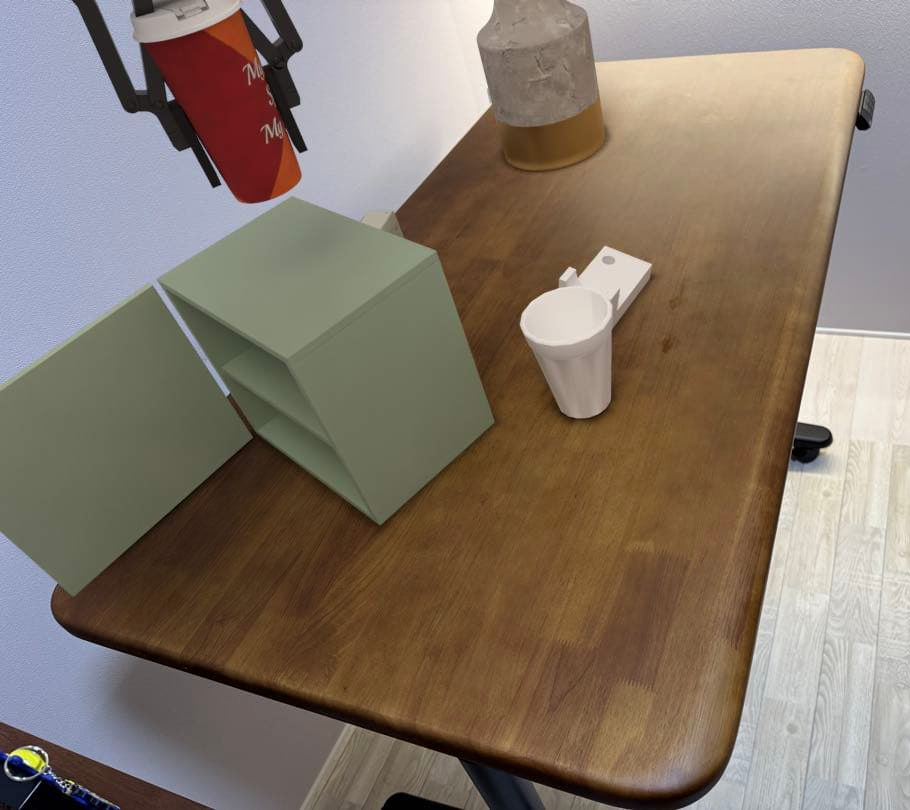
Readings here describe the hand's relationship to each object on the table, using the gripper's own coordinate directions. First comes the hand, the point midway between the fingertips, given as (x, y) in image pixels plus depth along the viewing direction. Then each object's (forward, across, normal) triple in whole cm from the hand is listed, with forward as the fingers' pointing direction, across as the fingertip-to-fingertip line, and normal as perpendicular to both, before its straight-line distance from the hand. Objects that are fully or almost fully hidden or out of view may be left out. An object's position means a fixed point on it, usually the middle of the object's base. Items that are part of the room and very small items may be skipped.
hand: (257, 163), depth 65 cm
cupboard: (+37, -1, +7) cm, 38 cm away
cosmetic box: (+38, +11, +32) cm, 51 cm away
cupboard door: (+37, -28, +12) cm, 48 cm away
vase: (+38, +50, +56) cm, 84 cm away
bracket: (+38, +34, +9) cm, 51 cm away
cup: (+38, +22, -6) cm, 44 cm away
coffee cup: (+2, 0, 0) cm, 2 cm away
